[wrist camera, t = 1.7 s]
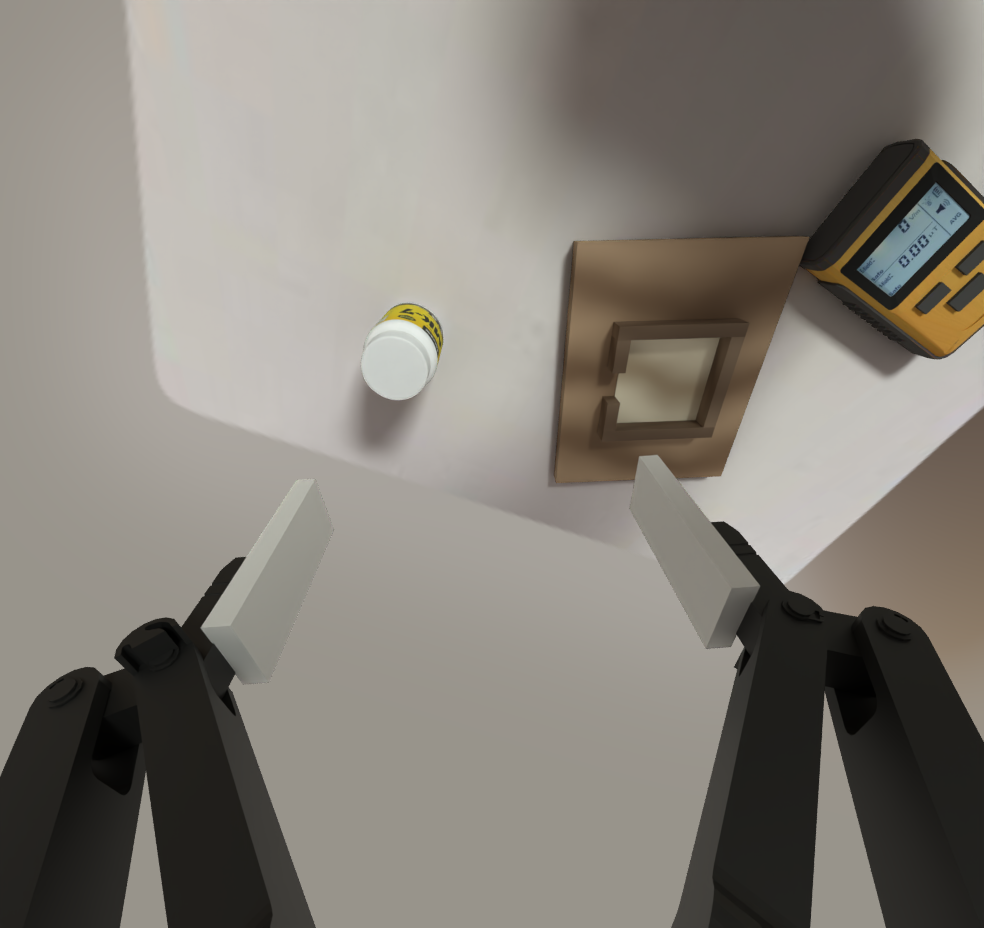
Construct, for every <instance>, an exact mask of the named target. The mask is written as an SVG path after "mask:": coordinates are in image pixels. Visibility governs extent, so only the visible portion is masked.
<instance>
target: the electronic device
mask: <svg viewBox="0 0 984 928" xmlns="http://www.w3.org/2000/svg"><path fill="white" fill-rule="evenodd" d="M799 265H800V266H801V267H803V268H804V269H806V270H808V271H809V272H810V273H812V274H813V275H814V276H816V277H817V278H818V279H819V281H818V283H819V284H821V285H822V286H823V287H825V288H826V289H827V290H829V291H830V292H831V293H833V294H834V295H835V296H837V297H838V298H839V299H841V300H842V301H843V305H845V306H849V309H850V310H853V311H855V314H858V315H861V318H862V319H866V322H867V323H871V324H872V326H873V327H875V328H878V331H880V332H883V335H885V336H888V338H889V339H891V340H894V341H897V342H898V343H899V344H901V345H902V346H903V347H905V348H906V349H907V350H909V351H910V352H911V353H914V354H917V355H920V356H923V357H926V358H930V359H942V358H946V357H948V356H949V355H951V354H952V353H954V352H955V351H956V350H957V349H958V348H959V347H960V346H962V345H963V344H964V343H965V342H966V341H967V340H968V339H970V338H971V337H972V336H973V335H974V334H975V333H976V332H978V331H979V330H980V329H981V328H982V327H983V326H984V197H983V196H982V195H981V194H980V193H979V192H978V191H977V190H976V189H975V188H974V187H973V185H972V184H971V183H970V182H969V181H968V180H967V179H966V178H965V177H964V176H963V175H962V174H961V173H960V172H959V171H958V170H957V169H956V168H955V167H954V166H953V165H952V164H950V163H949V162H947V161H945V160H940V159H939V158H938V157H937V156H936V155H935V153H934V152H933V151H932V150H931V149H930V148H929V147H928V146H927V145H926V144H925V143H924V142H923V140H919V139H913V140H907V141H901V142H896V143H894V144H891V145H888V146H886V147H885V148H884V149H883V150H882V151H881V153H880V154H879V155H878V156H877V158H876V159H875V160H874V161H873V162H872V164H871V165H870V166H869V167H868V169H867V170H866V171H865V172H864V173H863V175H862V176H861V177H860V178H859V180H858V181H857V182H856V183H855V185H854V186H853V187H852V188H851V189H850V191H849V192H848V193H847V194H846V196H845V197H844V198H843V199H842V200H841V202H840V203H839V204H838V205H837V207H836V208H835V209H834V210H833V212H832V213H831V214H830V215H829V216H828V218H827V219H826V220H825V221H824V223H823V224H822V225H821V226H820V227H819V229H818V230H817V231H816V232H815V234H814V235H813V236H812V237H811V239H810V240H809V241H808V242H807V245H806V248H805V250H804V253H803V256H802V259H801V261H800V264H799Z"/></svg>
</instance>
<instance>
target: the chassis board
mask: <svg viewBox="0 0 984 928" xmlns="http://www.w3.org/2000/svg"><path fill="white" fill-rule="evenodd" d="M808 240H809V237H805V236H771V237H729V238H686V239H644V240H601V241H574V245H573V257H572V269H571V281H570V293H569V304H568V316H567V328H566V340H565V352H564V364H563V375H562V387H561V399H560V411H559V423H558V435H557V446H556V458H555V470H554V477H555V480H556V483H567V482H591V481H616V480H635V476H636V471H637V465H638V460H639V456H650V455H658V456H659V457H660V458H661V460H662V461H663V462H664V464H665V465H666V466H667V467H668V469H669V470H670V471H671V472H672V474H673V475H674V476H675V478H689V477H713V476H721V474H722V472H723V469H724V466H725V464H726V461H727V458H728V456H729V453H730V450H731V447H732V445H733V442H734V439H735V437H736V434H737V431H738V429H739V426H740V423H741V420H742V418H743V415H744V412H745V410H746V407H747V404H748V402H749V399H750V396H751V393H752V391H753V388H754V385H755V383H756V380H757V377H758V375H759V372H760V369H761V366H762V364H763V361H764V358H765V356H766V353H767V350H768V348H769V345H770V342H771V340H772V337H773V334H774V331H775V329H776V326H777V323H778V321H779V318H780V315H781V313H782V310H783V307H784V304H785V302H786V299H787V296H788V294H789V291H790V288H791V286H792V283H793V280H794V277H795V275H796V272H797V269H798V267H799V264H800V261H801V259H802V256H803V253H804V250H805V248H806V245H807V242H808Z"/></svg>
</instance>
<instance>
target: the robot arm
mask: <svg viewBox="0 0 984 928" xmlns="http://www.w3.org/2000/svg"><path fill="white" fill-rule="evenodd" d="M630 511H631V512H632V514H633V516H634V518H635V520H636V522H637V523H638V525H639V527H640V529H641V531H642V533H643V534H644V536H645V538H646V540H647V542H648V544H649V545H650V547H651V549H652V551H653V553H654V555H655V556H656V558H657V560H658V562H659V564H660V566H661V567H662V569H663V571H664V573H665V575H666V577H667V578H668V580H669V582H670V584H671V586H672V587H673V589H674V591H675V593H676V595H677V597H678V599H679V601H680V602H681V604H682V606H683V608H684V610H685V611H686V613H687V615H688V617H689V619H690V621H691V623H692V624H693V626H694V628H695V630H696V632H697V634H698V635H699V637H700V639H701V641H702V643H703V645H704V646H705V648H706V649H709V648H723V647H731V646H732V643H733V641H734V639H735V637H736V635H737V636H738V637H739V639H740V640H741V642H742V644H743V645H744V649H743V651H742V653H741V655H740V656H739V659H738V660H737V662H736V664H735V666H734V667H735V668H736V669H737V673H736V677H735V681H734V685H733V689H732V693H731V697H730V702H729V705H728V710H727V714H726V718H725V722H724V726H723V730H722V734H721V738H720V742H719V746H718V750H717V755H716V758H715V763H714V767H713V771H712V775H711V779H710V783H709V787H708V791H707V795H706V799H705V803H704V807H703V811H702V816H701V820H700V824H699V828H698V832H697V836H696V841H695V844H694V848H693V852H692V857H691V860H690V864H689V869H688V873H687V877H686V881H685V885H684V889H683V893H682V897H681V901H680V905H679V908H678V912H677V914H676V917H675V920H674V922H673V924H672V927H671V928H810V921H811V906H812V888H813V873H814V856H815V840H816V823H817V806H818V790H819V774H820V757H821V740H822V724H823V707H824V691H825V694H826V698H827V702H828V705H829V709H830V713H831V717H832V721H833V725H834V728H835V732H836V736H837V740H838V744H839V748H840V751H841V756H842V760H843V763H844V767H845V771H846V775H847V779H848V783H849V786H850V790H851V794H852V798H853V802H854V806H855V810H856V813H857V817H858V821H859V825H860V829H861V833H862V837H863V841H864V844H865V848H866V852H867V856H868V860H869V864H870V868H871V872H872V875H873V879H874V883H875V887H876V891H877V894H878V898H879V902H880V906H881V910H882V914H883V918H884V921H885V926H886V928H984V742H983V740H982V738H981V736H980V734H979V732H978V730H977V728H976V727H975V725H974V723H973V721H972V719H971V717H970V715H969V713H968V711H967V709H966V708H965V706H964V704H963V702H962V700H961V698H960V696H959V694H958V692H957V691H956V689H955V687H954V685H953V683H952V681H951V679H950V677H949V675H948V673H947V672H946V670H945V668H944V666H943V664H942V662H941V660H940V658H939V656H938V655H937V653H936V651H935V649H934V647H933V645H932V643H931V641H930V639H929V637H928V636H927V635H926V633H925V632H924V631H923V630H922V628H921V627H920V626H918V625H917V624H916V623H915V622H913V621H912V620H911V619H909V618H907V617H906V616H904V615H902V614H900V613H898V612H896V611H893V610H890V609H887V608H884V607H876V606H872V607H868V608H865V609H864V610H863V611H862V612H861V614H860V615H859V616H858V617H855V616H849V615H844V614H839V613H833V612H828V611H824V610H822V608H821V607H820V606H819V605H818V604H816V603H815V602H814V601H813V600H811V599H809V598H807V597H805V596H803V595H802V594H799V593H795V592H792V591H789V590H788V589H787V588H786V587H785V586H784V584H783V583H782V582H781V581H780V580H779V579H778V577H777V576H776V575H775V574H774V573H773V572H772V570H771V569H770V568H769V567H768V566H767V564H766V563H765V562H764V561H763V560H762V559H761V557H760V556H759V555H757V554H756V551H755V550H754V549H753V548H752V547H751V546H750V545H748V542H747V541H746V540H745V539H744V537H743V536H742V535H741V534H740V533H739V531H737V530H736V529H734V528H733V527H731V526H730V525H728V524H727V523H725V522H724V521H723V522H710V521H709V520H708V518H707V517H706V516H705V515H704V513H703V512H702V511H701V510H700V508H699V507H698V506H697V504H696V503H695V502H694V501H693V499H692V498H691V497H690V495H689V494H688V493H687V492H686V490H685V489H684V488H683V487H682V485H681V484H680V483H679V481H678V480H677V479H676V478H675V476H674V475H673V474H672V472H671V471H670V470H669V469H668V467H667V466H666V465H665V464H664V462H663V461H662V460H661V458H660V457H659V456H658V455H650V456H639V460H638V465H637V471H636V476H635V482H634V487H633V493H632V498H631V504H630ZM333 531H334V529H333V526H332V523H331V520H330V518H329V515H328V513H327V509H326V507H325V504H324V501H323V498H322V496H321V493H320V490H319V487H318V484H317V482H316V479H306V480H296V481H295V483H294V485H293V486H292V488H291V489H290V491H289V492H288V494H287V495H286V497H285V499H284V500H283V502H282V503H281V505H280V506H279V508H278V509H277V511H276V513H275V514H274V516H273V517H272V519H271V520H270V522H269V523H268V525H267V526H266V528H265V529H264V531H263V532H262V534H261V535H260V537H259V539H258V540H257V542H256V543H255V545H254V546H253V548H252V550H251V551H250V553H249V554H248V556H247V557H238V558H235V559H234V560H232V561H231V562H230V563H229V564H228V565H226V566H225V567H224V568H223V569H222V570H221V571H220V572H219V574H218V575H217V577H216V578H215V580H214V581H213V583H212V586H210V587H209V588H208V590H207V591H206V593H205V596H204V597H202V598H201V600H200V601H199V603H198V604H197V606H196V607H195V608H194V610H193V611H192V613H191V614H190V616H189V617H188V619H187V620H186V621H185V623H184V624H183V626H182V627H180V626H179V624H178V623H177V622H176V621H175V619H171V618H160V619H155V620H153V621H150V622H148V623H145V624H143V625H142V626H140V627H139V628H137V629H136V630H134V631H132V632H131V633H130V634H129V635H128V636H127V637H126V638H125V639H124V640H123V641H122V642H121V643H120V645H119V646H118V648H117V649H116V653H115V657H114V658H115V659H116V660H117V661H118V662H119V663H120V664H121V665H122V666H123V667H124V668H125V669H122V670H119V671H116V672H113V673H110V674H107V675H104V676H103V675H102V674H101V673H100V672H99V671H98V670H96V669H95V668H93V667H84V668H80V669H77V670H74V671H71V672H69V673H67V674H66V675H63V676H62V677H60V678H58V679H57V680H56V681H54V682H53V683H51V684H50V685H49V686H47V687H46V688H45V689H44V690H43V691H42V692H41V693H40V694H39V695H38V696H37V697H36V699H35V700H34V702H33V704H32V705H31V707H30V709H29V711H28V713H27V716H26V718H25V721H24V723H23V725H22V727H21V730H20V732H19V734H18V736H17V739H16V741H15V744H14V746H13V748H12V751H11V753H10V755H9V758H8V760H7V762H6V764H5V767H4V769H3V771H2V774H1V776H0V928H120V923H121V917H122V911H123V905H124V899H125V893H126V887H127V881H128V875H129V869H130V863H131V857H132V851H133V845H134V839H135V833H136V827H137V821H138V815H139V809H140V803H141V797H142V790H143V785H144V778H145V773H147V780H148V787H149V794H150V801H151V809H152V816H153V823H154V830H155V837H156V844H157V852H158V858H159V866H160V872H161V880H162V887H163V894H164V901H165V909H166V915H167V923H168V928H316V927H315V924H314V921H313V919H312V916H311V913H310V910H309V907H308V904H307V902H306V899H305V896H304V893H303V890H302V887H301V885H300V882H299V879H298V876H297V873H296V870H295V868H294V865H293V862H292V859H291V856H290V854H289V851H288V848H287V845H286V843H285V839H284V837H283V834H282V831H281V828H280V825H279V822H278V820H277V817H276V814H275V811H274V808H273V806H272V803H271V800H270V797H269V794H268V791H267V789H266V786H265V783H264V780H263V777H262V774H261V771H260V769H259V766H258V764H257V760H256V757H255V755H254V752H253V749H252V746H251V743H250V740H249V738H248V735H247V732H246V729H245V726H244V723H243V721H242V718H241V715H240V712H239V709H238V706H237V704H236V701H235V698H234V695H233V692H232V691H231V690H230V689H229V685H230V683H231V681H232V679H233V677H234V675H235V674H236V676H237V677H238V678H239V680H240V681H241V682H242V684H256V683H269V681H270V679H271V677H272V674H273V672H274V669H275V667H276V665H277V662H278V660H279V658H280V655H281V653H282V651H283V648H284V646H285V644H286V641H287V639H288V637H289V634H290V632H291V630H292V627H293V625H294V623H295V620H296V618H297V616H298V613H299V611H300V608H301V606H302V604H303V602H304V599H305V597H306V595H307V592H308V590H309V587H310V585H311V583H312V580H313V578H314V576H315V573H316V571H317V569H318V566H319V564H320V562H321V559H322V557H323V555H324V552H325V550H326V548H327V545H328V543H329V541H330V538H331V536H332V534H333Z"/></svg>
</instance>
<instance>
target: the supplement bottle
mask: <svg viewBox="0 0 984 928" xmlns="http://www.w3.org/2000/svg"><path fill="white" fill-rule="evenodd" d="M442 345H443V331H442V327H441V324H440V322H439V320H438V319H437V317H436V316H435V315H434V314H433V313H432V312H431V311H430V310H429V309H427V308H426V307H424V306H422V305H419V304H416V303H402V304H399V305H396V306H394V307H393V308H391V309H390V310H389V311H388V312H387V313H386V314H385V315H384V317H383V318H382V319H381V320H380V321H379V322H378V323H377V324H376V325H375V327H374V328H373V329H372V330H371V331H370V333H369V334H368V336H367V338H366V340H365V343H364V350H363V355H362V358H361V371H362V374H363V377H364V379H365V381H366V383H367V384H368V386H369V387H370V388H371V389H372V390H373V391H374V392H376V393H377V394H379V395H380V396H382V397H384V398H387V399H390V400H406V399H409V398H412V397H414V396H415V395H417V394H418V393H419V392H420V391H421V390H422V389H423V388H424V386H425V385H426V384H428V383H429V381H430V380H431V379H432V377H433V376H434V374H435V372H436V369H437V365H438V361H439V357H440V353H441V349H442Z"/></svg>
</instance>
